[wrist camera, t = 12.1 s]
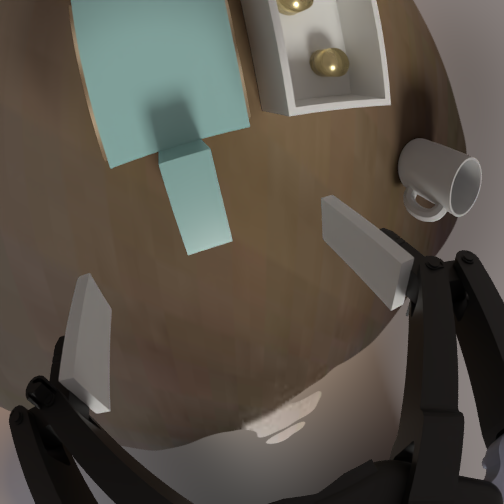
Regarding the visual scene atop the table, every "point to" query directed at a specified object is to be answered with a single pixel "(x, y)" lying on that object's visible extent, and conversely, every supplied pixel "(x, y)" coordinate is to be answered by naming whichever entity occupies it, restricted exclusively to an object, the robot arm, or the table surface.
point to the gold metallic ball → (293, 6)
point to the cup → (438, 179)
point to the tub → (308, 41)
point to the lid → (165, 96)
